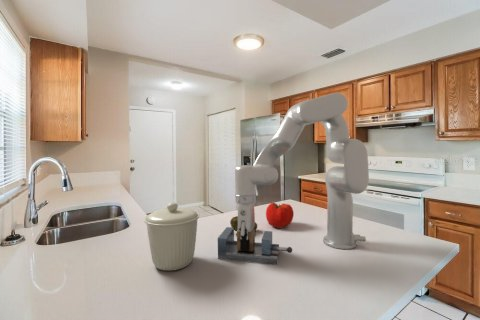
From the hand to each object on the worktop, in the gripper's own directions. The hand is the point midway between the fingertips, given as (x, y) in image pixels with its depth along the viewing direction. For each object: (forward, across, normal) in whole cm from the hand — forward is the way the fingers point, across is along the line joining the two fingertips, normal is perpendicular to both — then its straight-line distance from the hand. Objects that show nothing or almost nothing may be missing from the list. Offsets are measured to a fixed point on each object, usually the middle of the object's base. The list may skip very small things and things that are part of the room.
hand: (246, 246), depth 87 cm
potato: (+3, +21, +5) cm, 22 cm away
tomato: (+3, +34, -11) cm, 36 cm away
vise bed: (+3, 0, -1) cm, 3 cm away
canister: (+3, -12, +23) cm, 26 cm away
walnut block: (+1, 0, 0) cm, 1 cm away
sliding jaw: (+1, 0, -12) cm, 12 cm away
